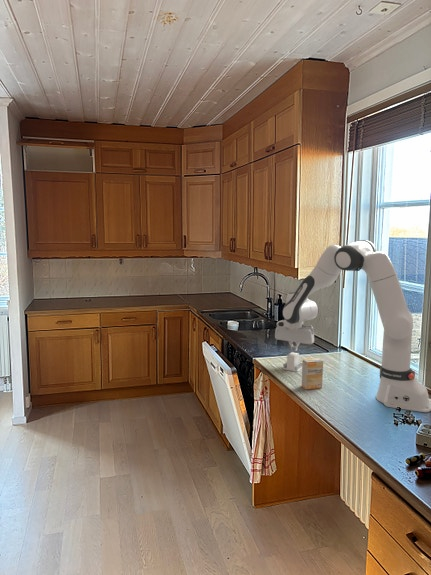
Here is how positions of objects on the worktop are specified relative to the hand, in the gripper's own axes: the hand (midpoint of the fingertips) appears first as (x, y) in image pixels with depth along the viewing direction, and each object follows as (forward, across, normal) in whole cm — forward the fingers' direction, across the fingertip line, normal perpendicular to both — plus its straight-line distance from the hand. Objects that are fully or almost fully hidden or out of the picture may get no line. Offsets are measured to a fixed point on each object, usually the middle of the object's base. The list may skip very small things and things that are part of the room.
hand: (294, 350), depth 228 cm
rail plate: (+10, 0, 0) cm, 10 cm away
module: (+9, 0, 0) cm, 9 cm away
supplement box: (+10, -18, +19) cm, 28 cm away
